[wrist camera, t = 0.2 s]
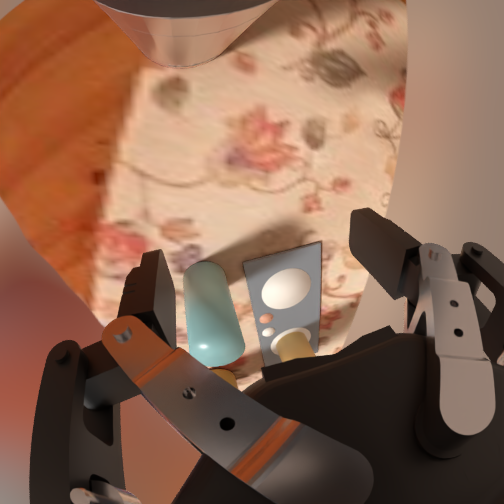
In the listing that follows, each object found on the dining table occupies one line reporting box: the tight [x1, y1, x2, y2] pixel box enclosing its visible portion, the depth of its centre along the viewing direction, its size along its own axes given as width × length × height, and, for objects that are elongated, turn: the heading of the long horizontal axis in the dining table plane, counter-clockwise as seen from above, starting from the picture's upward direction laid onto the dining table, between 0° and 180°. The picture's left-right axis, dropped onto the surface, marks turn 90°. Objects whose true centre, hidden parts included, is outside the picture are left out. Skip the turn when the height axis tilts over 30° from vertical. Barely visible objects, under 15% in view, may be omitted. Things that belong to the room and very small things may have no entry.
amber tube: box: [276, 332, 316, 362], centre depth 39 cm, size 5×5×11 cm
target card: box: [243, 242, 321, 367], centre depth 40 cm, size 24×10×1 cm, turn 9°
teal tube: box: [183, 261, 245, 367], centre depth 29 cm, size 5×5×11 cm
